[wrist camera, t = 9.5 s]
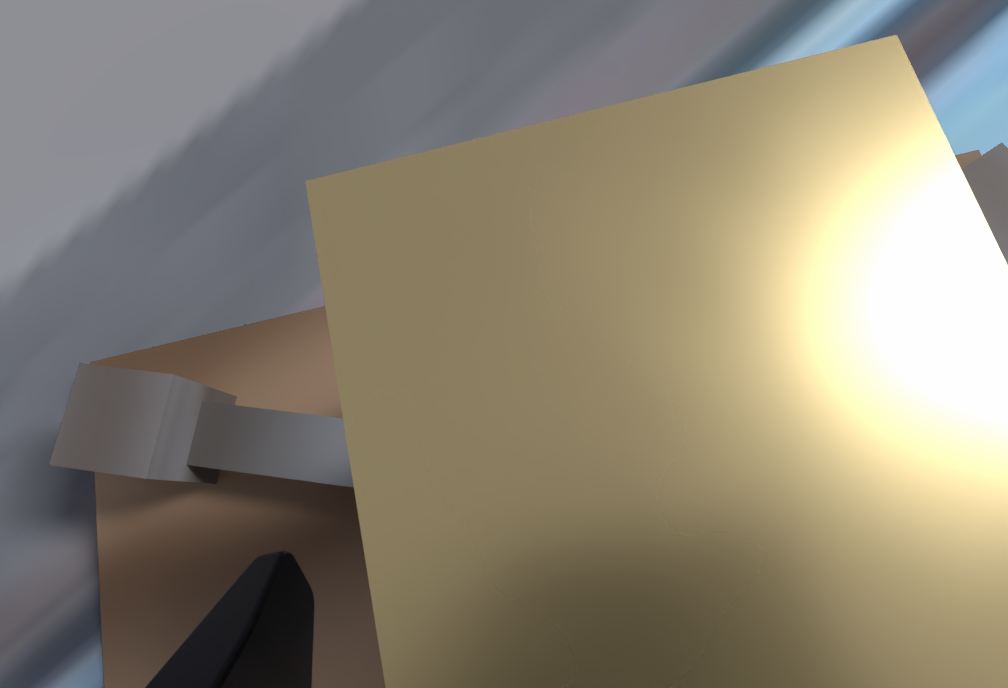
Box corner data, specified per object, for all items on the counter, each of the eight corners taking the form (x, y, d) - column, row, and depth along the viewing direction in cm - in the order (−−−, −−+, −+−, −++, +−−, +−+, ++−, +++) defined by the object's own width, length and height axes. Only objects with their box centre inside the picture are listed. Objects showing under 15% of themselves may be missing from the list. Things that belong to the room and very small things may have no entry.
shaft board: (1176, 635, 15) (1389, 678, 11) (140, 865, 16) (3, 982, 12) (957, 168, 19) (1062, 79, 15) (113, 369, 19) (1, 334, 15)
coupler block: (684, 546, 16) (1215, 700, 3) (528, 582, 16) (415, 882, 3) (639, 391, 17) (896, 35, 4) (493, 426, 17) (305, 180, 4)
